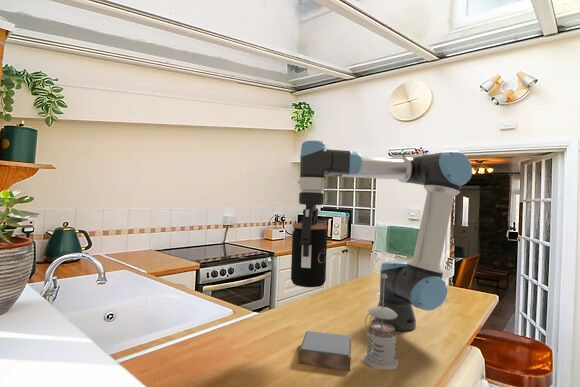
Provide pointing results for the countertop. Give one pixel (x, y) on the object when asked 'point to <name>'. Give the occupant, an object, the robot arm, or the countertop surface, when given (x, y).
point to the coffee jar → (318, 257)
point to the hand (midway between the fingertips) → (309, 263)
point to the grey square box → (326, 350)
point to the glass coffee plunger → (381, 338)
